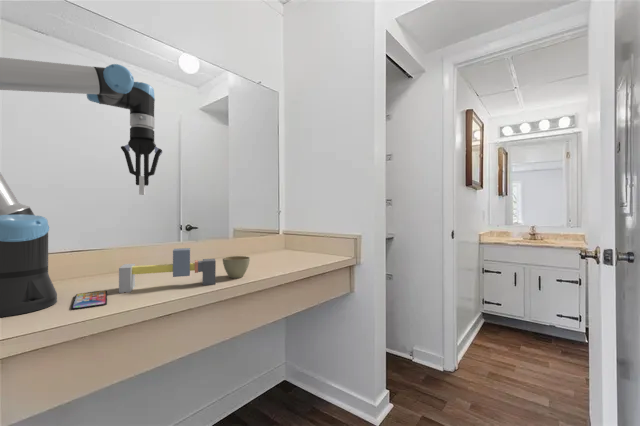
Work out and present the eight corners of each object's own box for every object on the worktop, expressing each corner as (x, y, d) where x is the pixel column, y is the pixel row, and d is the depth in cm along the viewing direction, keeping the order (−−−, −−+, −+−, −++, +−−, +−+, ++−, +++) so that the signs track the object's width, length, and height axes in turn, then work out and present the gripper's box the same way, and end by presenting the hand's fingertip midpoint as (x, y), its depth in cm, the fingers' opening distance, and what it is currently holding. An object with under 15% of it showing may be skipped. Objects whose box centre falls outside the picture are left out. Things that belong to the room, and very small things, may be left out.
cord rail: (118, 293, 90) (118, 266, 90) (124, 287, 96) (124, 262, 96) (215, 285, 100) (215, 261, 100) (214, 280, 107) (214, 258, 107)
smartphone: (70, 308, 74) (75, 294, 87) (70, 312, 74) (75, 297, 87) (106, 303, 79) (106, 290, 91) (106, 307, 79) (106, 293, 91)
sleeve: (172, 277, 96) (172, 250, 96) (173, 273, 101) (174, 248, 101) (189, 275, 98) (189, 250, 98) (190, 272, 103) (190, 248, 103)
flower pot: (242, 280, 107) (242, 260, 107) (217, 278, 109) (217, 259, 109) (254, 274, 117) (254, 256, 117) (230, 273, 119) (230, 255, 119)
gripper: (118, 123, 101) (118, 193, 101) (161, 128, 106) (161, 194, 106) (123, 129, 108) (123, 194, 108) (163, 132, 113) (163, 195, 113)
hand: (142, 194), depth 107 cm, fingers closed
